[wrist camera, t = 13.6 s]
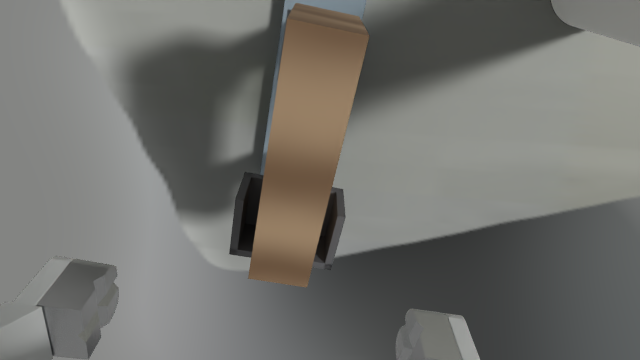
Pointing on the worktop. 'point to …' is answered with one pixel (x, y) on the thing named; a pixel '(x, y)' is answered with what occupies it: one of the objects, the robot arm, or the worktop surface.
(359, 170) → the worktop surface
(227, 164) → the worktop surface
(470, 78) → the worktop surface
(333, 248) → the stand
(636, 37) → the cylindrical container
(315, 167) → the rail
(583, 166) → the worktop surface
